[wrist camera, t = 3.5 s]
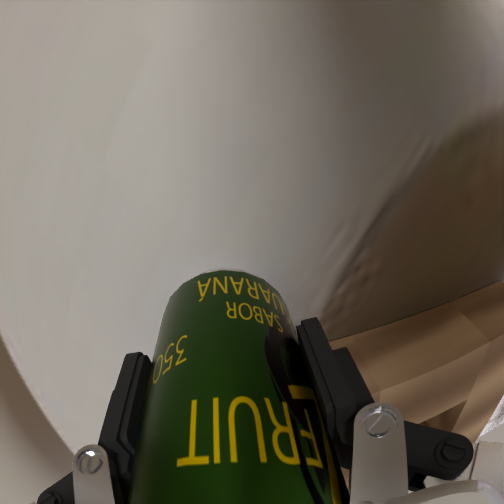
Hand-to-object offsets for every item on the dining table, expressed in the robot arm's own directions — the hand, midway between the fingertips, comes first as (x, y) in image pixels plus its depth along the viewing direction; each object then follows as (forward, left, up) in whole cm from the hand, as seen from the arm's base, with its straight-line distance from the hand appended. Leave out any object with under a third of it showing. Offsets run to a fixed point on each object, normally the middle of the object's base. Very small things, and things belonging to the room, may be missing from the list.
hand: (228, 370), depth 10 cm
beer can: (0, 0, -4) cm, 4 cm away
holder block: (+11, +9, -3) cm, 15 cm away
